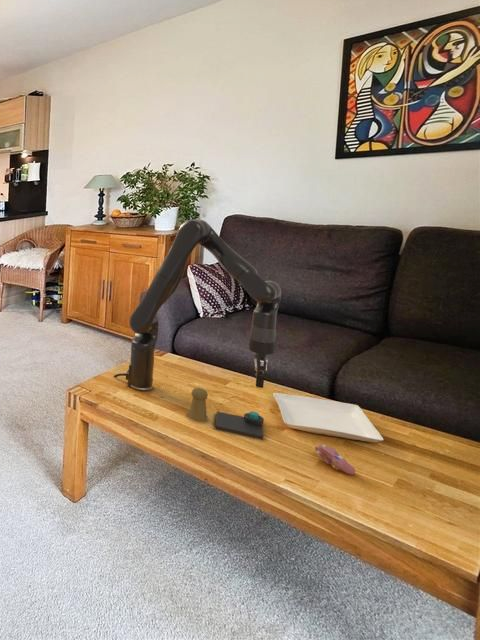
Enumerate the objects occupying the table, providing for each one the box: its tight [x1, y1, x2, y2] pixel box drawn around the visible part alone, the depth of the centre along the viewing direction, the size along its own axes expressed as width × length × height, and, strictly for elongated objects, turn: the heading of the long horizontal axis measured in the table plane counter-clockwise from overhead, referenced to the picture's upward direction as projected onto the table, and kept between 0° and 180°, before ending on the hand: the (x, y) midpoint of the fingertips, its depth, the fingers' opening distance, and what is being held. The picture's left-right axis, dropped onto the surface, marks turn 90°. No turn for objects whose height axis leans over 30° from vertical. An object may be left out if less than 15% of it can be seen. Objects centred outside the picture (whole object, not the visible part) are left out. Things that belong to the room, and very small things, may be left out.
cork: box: [188, 387, 208, 423], centre depth 172 cm, size 6×6×11 cm
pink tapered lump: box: [314, 443, 356, 475], centre depth 143 cm, size 10×5×7 cm, turn 5°
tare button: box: [248, 411, 260, 420], centre depth 167 cm, size 3×3×2 cm
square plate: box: [272, 392, 384, 443], centre depth 169 cm, size 27×27×4 cm
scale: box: [215, 411, 265, 441], centre depth 167 cm, size 14×13×3 cm
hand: (258, 382), depth 167 cm, fingers open, 8 cm apart
